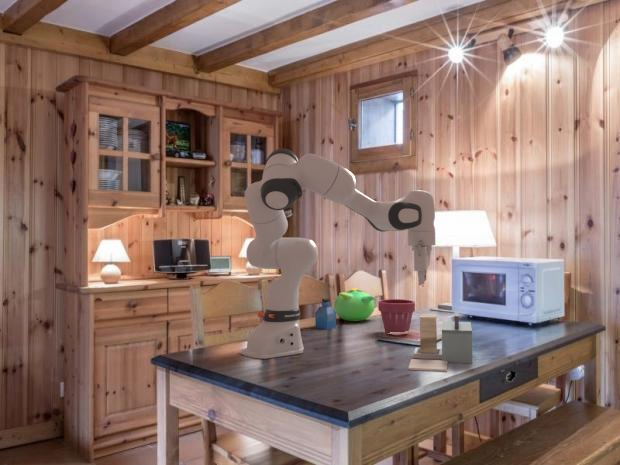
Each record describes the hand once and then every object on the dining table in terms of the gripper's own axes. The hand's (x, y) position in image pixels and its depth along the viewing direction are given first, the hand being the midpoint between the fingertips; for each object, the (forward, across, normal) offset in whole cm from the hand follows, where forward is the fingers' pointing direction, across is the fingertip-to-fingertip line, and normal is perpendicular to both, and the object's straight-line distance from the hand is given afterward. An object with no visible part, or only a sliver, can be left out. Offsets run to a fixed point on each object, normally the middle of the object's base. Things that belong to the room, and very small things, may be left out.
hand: (422, 282), depth 184 cm
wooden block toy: (+24, -1, -6) cm, 25 cm away
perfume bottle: (+25, +43, +44) cm, 66 cm away
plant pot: (+25, +36, +13) cm, 45 cm away
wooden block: (+24, -1, -2) cm, 24 cm away
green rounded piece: (+25, +61, +35) cm, 75 cm away
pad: (+24, -15, -2) cm, 28 cm away
